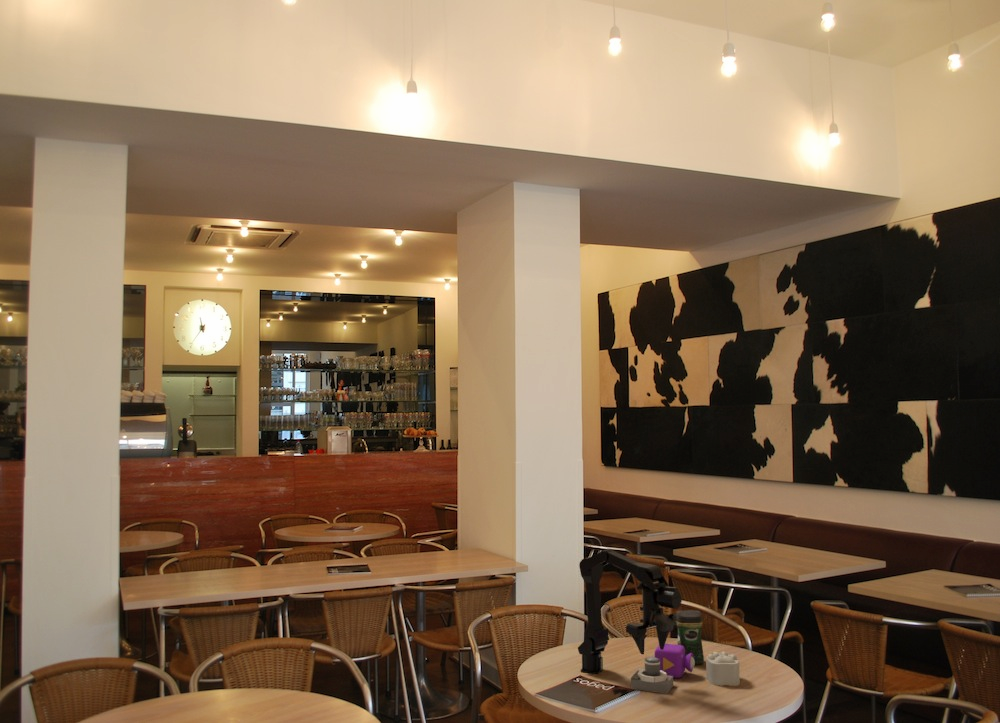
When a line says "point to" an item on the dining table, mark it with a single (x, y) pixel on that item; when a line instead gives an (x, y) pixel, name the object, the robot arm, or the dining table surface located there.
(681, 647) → the toy camera
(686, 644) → the coffee jar
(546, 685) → the dining table surface
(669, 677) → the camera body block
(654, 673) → the lens
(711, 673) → the lumpy-topped squat cylinder
